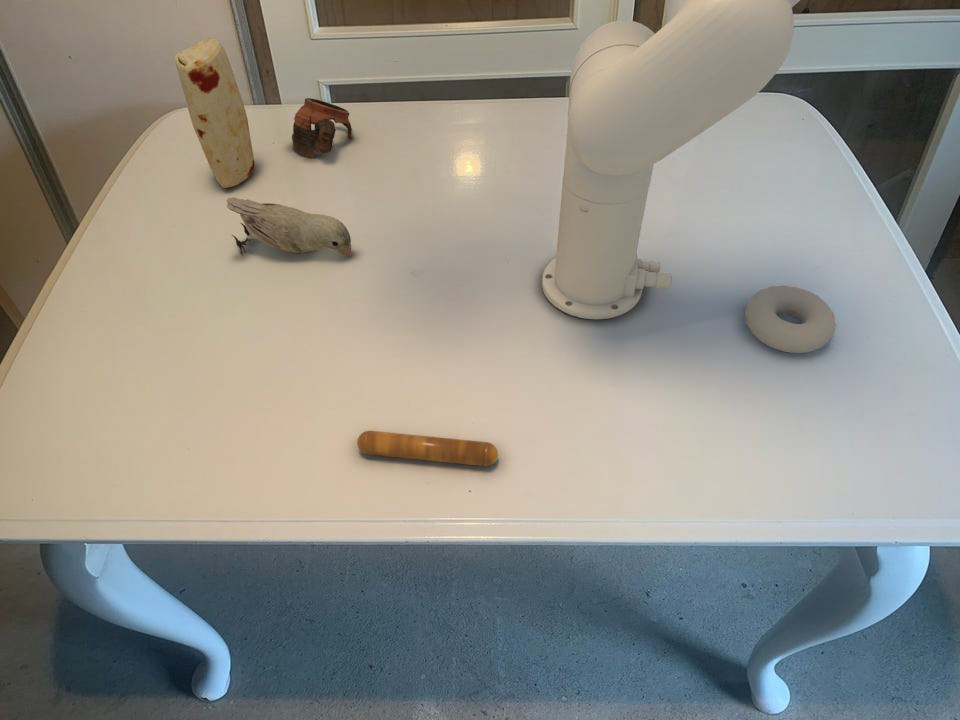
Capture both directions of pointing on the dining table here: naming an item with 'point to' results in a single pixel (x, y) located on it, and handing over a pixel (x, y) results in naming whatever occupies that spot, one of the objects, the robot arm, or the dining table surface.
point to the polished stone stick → (427, 448)
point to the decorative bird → (290, 227)
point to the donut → (783, 333)
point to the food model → (216, 111)
